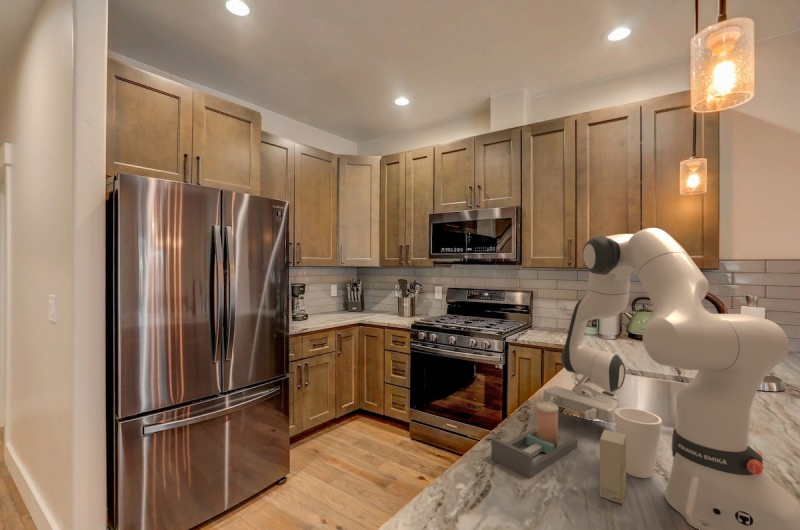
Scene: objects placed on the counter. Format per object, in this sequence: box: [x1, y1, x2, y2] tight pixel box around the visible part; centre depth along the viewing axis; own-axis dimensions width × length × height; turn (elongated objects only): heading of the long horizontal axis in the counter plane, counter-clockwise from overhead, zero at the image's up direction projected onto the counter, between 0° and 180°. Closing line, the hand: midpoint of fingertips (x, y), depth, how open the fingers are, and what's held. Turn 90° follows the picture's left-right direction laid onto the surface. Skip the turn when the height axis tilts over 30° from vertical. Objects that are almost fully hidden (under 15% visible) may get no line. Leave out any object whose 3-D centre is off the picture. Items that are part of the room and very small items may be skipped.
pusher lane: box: [490, 427, 579, 479], centre depth 94 cm, size 23×10×5 cm, turn 130°
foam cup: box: [614, 407, 663, 479], centre depth 87 cm, size 10×9×13 cm
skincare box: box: [598, 428, 627, 505], centre depth 78 cm, size 6×4×12 cm
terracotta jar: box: [535, 400, 560, 449], centre depth 98 cm, size 5×5×11 cm
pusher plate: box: [522, 434, 555, 457], centre depth 94 cm, size 7×7×2 cm
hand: (566, 409), depth 105 cm, fingers open, 8 cm apart
